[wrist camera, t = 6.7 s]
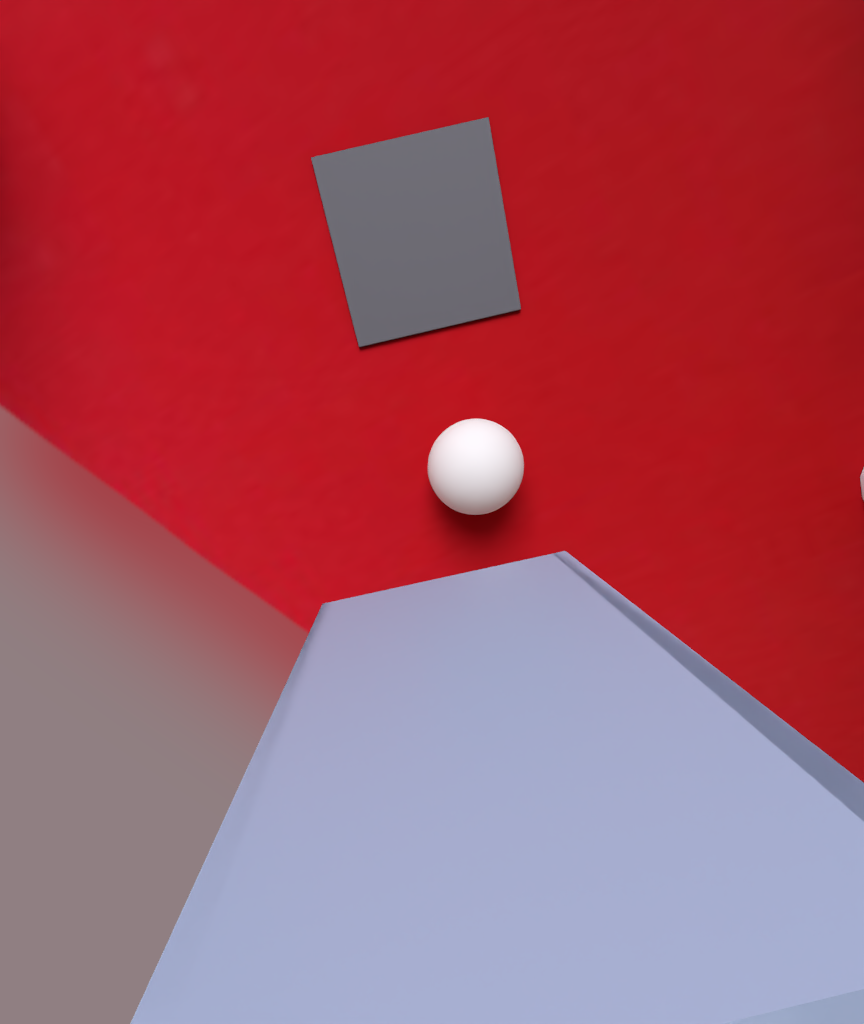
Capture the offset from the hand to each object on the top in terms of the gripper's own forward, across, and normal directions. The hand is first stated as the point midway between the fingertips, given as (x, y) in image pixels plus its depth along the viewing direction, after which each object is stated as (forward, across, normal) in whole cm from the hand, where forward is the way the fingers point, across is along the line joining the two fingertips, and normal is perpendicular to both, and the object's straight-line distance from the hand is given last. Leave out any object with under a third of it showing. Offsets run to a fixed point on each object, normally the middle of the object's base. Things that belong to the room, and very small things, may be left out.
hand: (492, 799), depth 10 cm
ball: (+14, -3, -6) cm, 15 cm away
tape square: (+16, -3, -18) cm, 24 cm away
